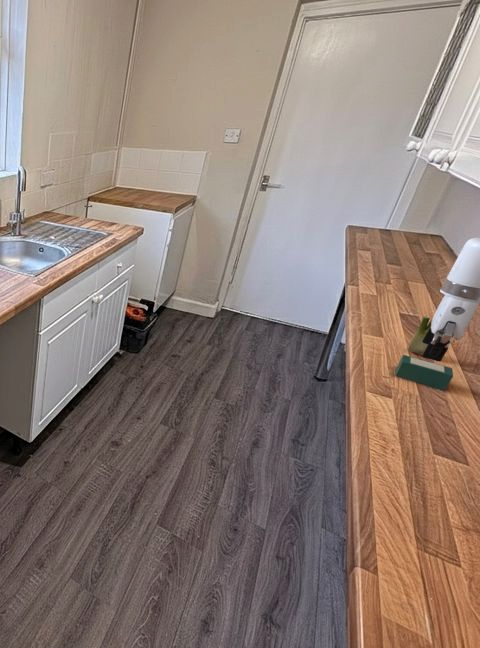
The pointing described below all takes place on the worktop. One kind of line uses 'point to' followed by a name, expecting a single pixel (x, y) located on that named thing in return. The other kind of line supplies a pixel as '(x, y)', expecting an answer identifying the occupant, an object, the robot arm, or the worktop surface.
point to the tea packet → (424, 372)
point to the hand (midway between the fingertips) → (430, 351)
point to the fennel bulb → (420, 337)
